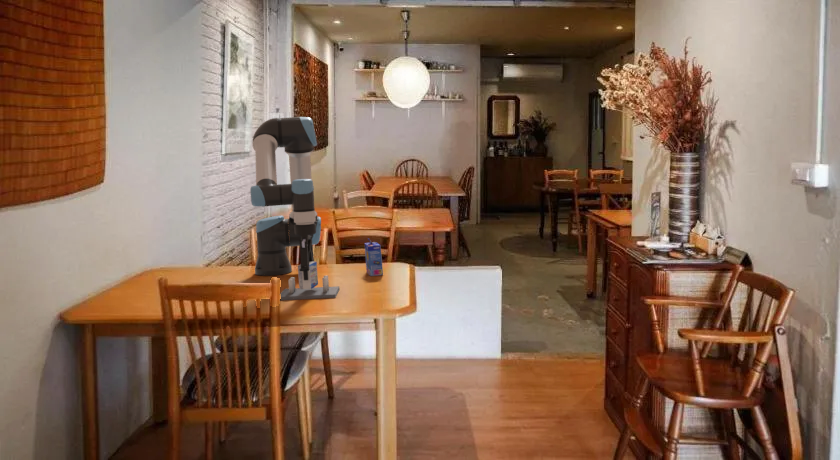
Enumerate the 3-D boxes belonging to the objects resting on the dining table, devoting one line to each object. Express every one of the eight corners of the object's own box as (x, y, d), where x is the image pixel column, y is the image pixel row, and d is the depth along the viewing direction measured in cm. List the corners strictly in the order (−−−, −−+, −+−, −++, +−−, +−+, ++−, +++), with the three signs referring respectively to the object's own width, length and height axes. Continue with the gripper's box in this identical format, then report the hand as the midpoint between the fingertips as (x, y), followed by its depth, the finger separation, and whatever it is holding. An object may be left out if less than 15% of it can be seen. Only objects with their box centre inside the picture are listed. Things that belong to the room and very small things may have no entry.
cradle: (284, 292, 285) (283, 275, 284) (339, 289, 285) (338, 272, 284) (277, 300, 271) (276, 282, 270) (335, 297, 271) (334, 280, 270)
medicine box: (311, 289, 273) (309, 265, 272) (299, 289, 274) (297, 265, 273) (318, 284, 281) (316, 261, 280) (306, 284, 282) (305, 261, 281)
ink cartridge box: (365, 272, 318) (363, 237, 316) (378, 271, 319) (377, 236, 317) (369, 276, 308) (367, 240, 306) (383, 275, 309) (381, 239, 307)
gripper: (298, 220, 285) (302, 280, 288) (289, 227, 264) (293, 293, 267) (319, 219, 285) (323, 280, 288) (311, 226, 264) (315, 292, 267)
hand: (308, 286), depth 277 cm, fingers closed on medicine box, 8 cm apart
